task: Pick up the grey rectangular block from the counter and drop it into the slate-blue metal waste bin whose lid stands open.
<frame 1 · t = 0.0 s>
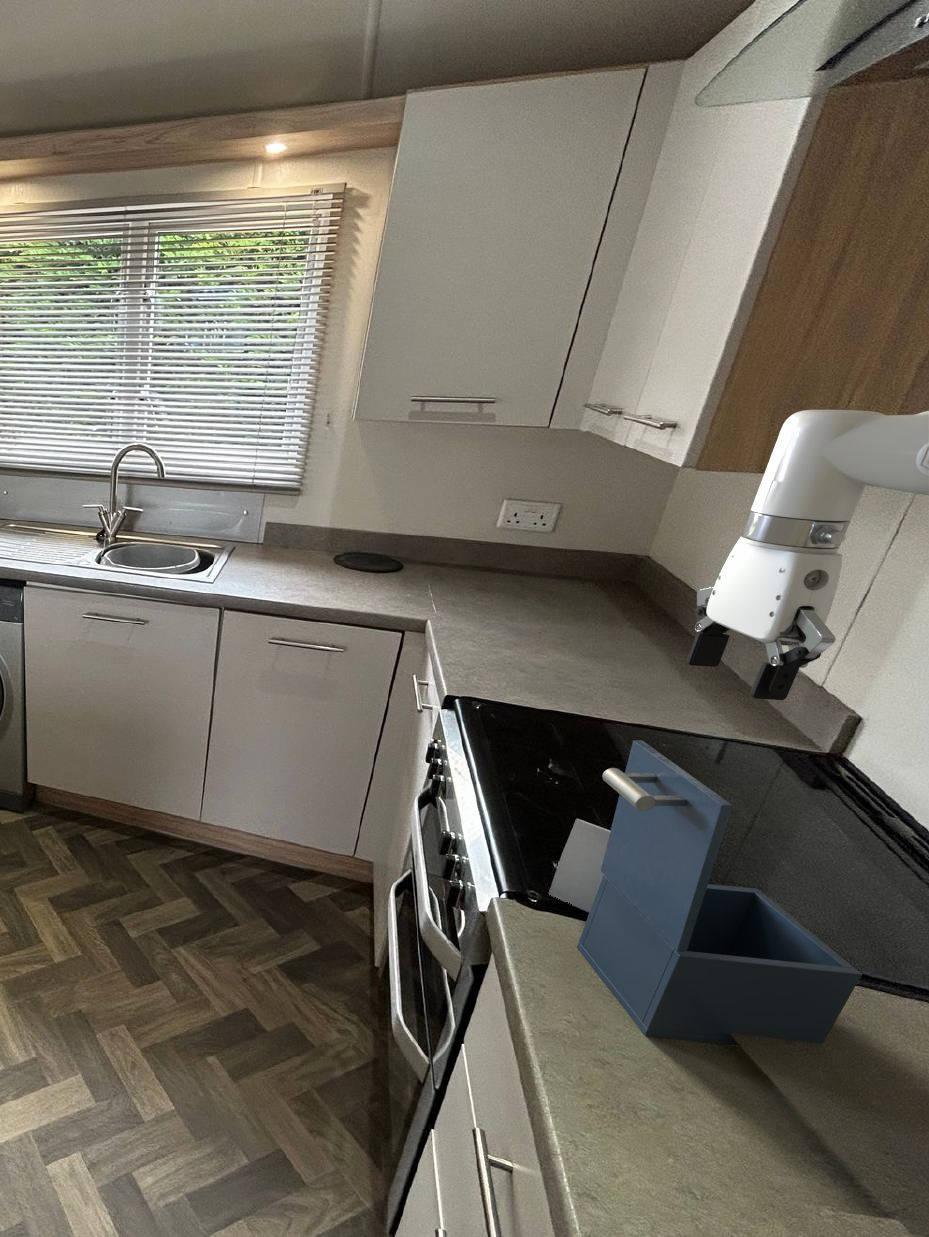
hand: (732, 680, 82), 26 cm above the countertop, tool pointing down, fingers open, 9 cm apart
bin lid: (634, 841, 68), point 18 cm above the countertop, hinge at 95.0°
waste bin: (686, 996, 73), on the countertop
grey rectangular block: (585, 903, 86), on the countertop
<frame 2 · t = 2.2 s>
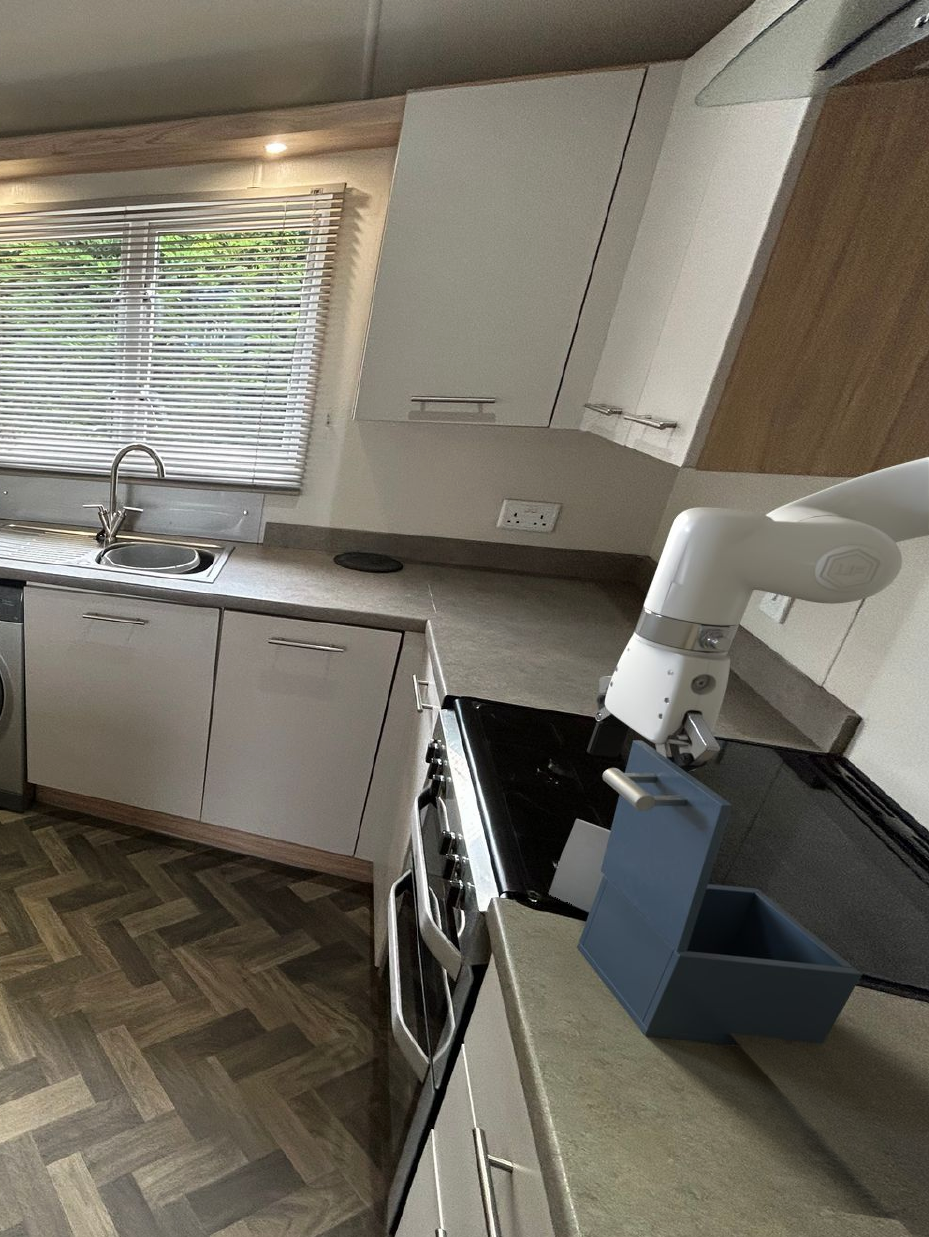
hand: (628, 776, 80), 17 cm above the countertop, tool pointing down, fingers open, 9 cm apart
nothing on the countertop moved.
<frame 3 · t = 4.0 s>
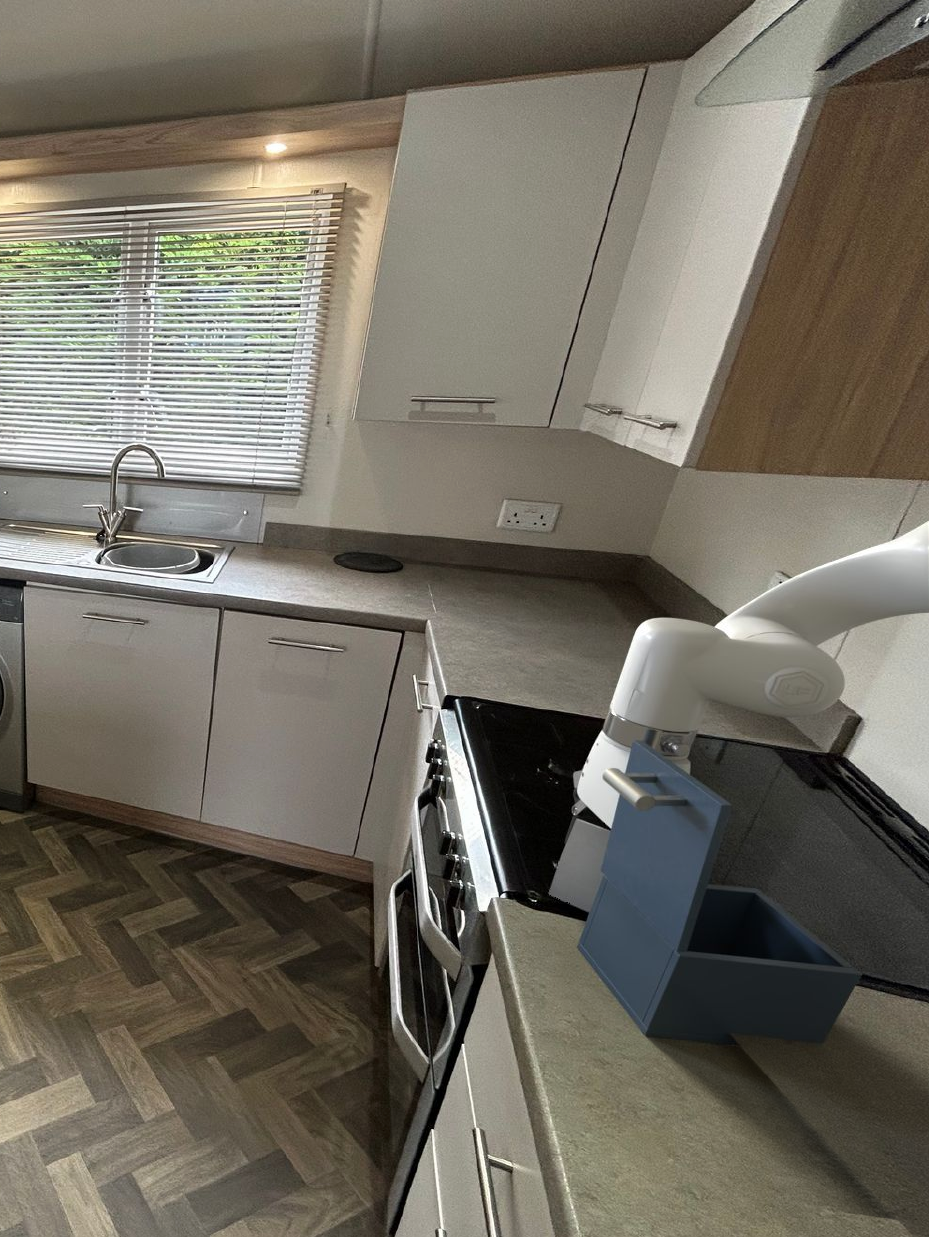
hand: (598, 865, 84), 5 cm above the countertop, tool pointing down, fingers closed on grey rectangular block, 7 cm apart
grey rectangular block: (585, 903, 86), on the countertop, touching gripper
everything else where it was.
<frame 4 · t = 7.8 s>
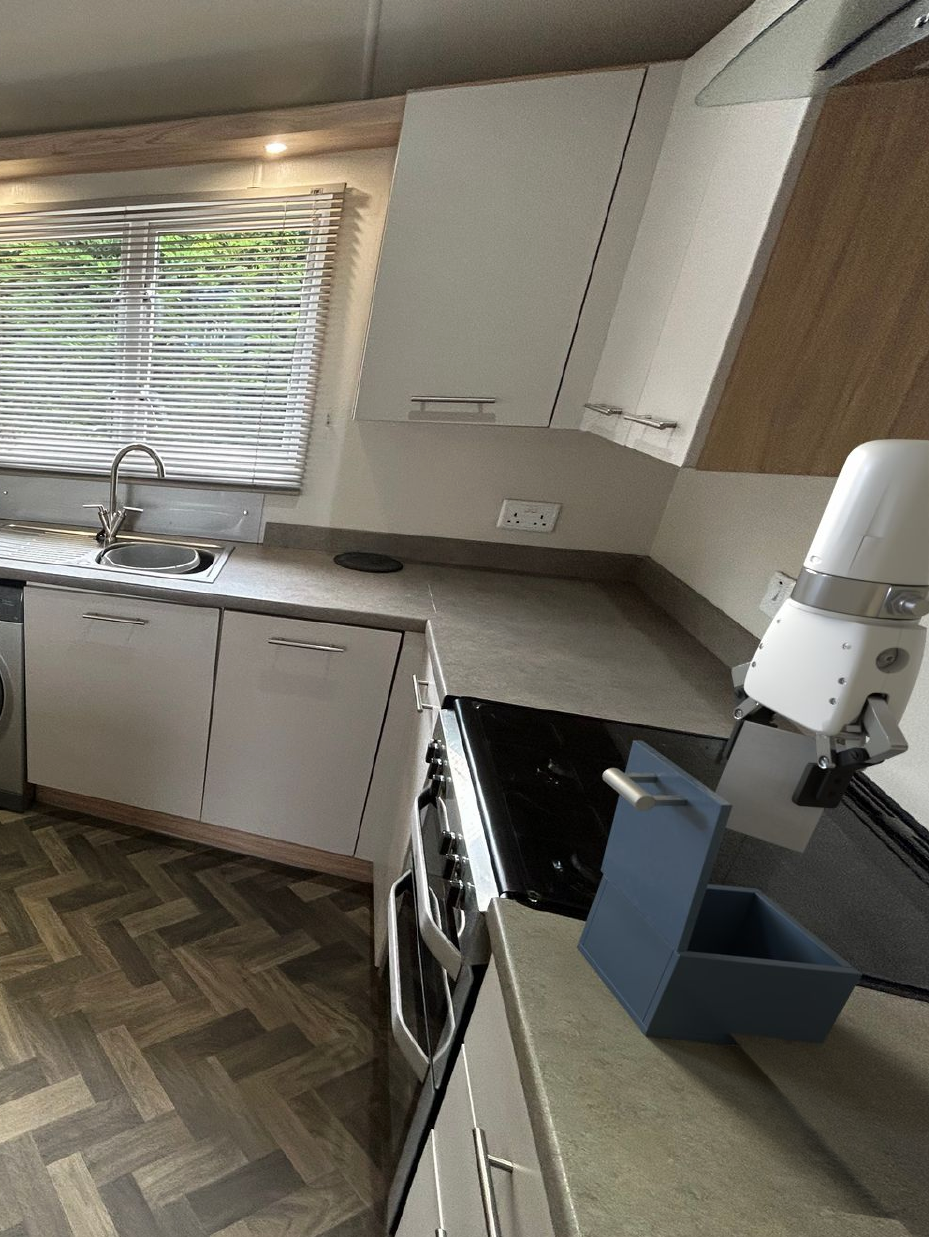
hand: (775, 780, 66), 24 cm above the countertop, tool pointing down, fingers closed on grey rectangular block, 7 cm apart
grey rectangular block: (753, 830, 68), point 19 cm above the countertop, touching gripper
everything else where it was.
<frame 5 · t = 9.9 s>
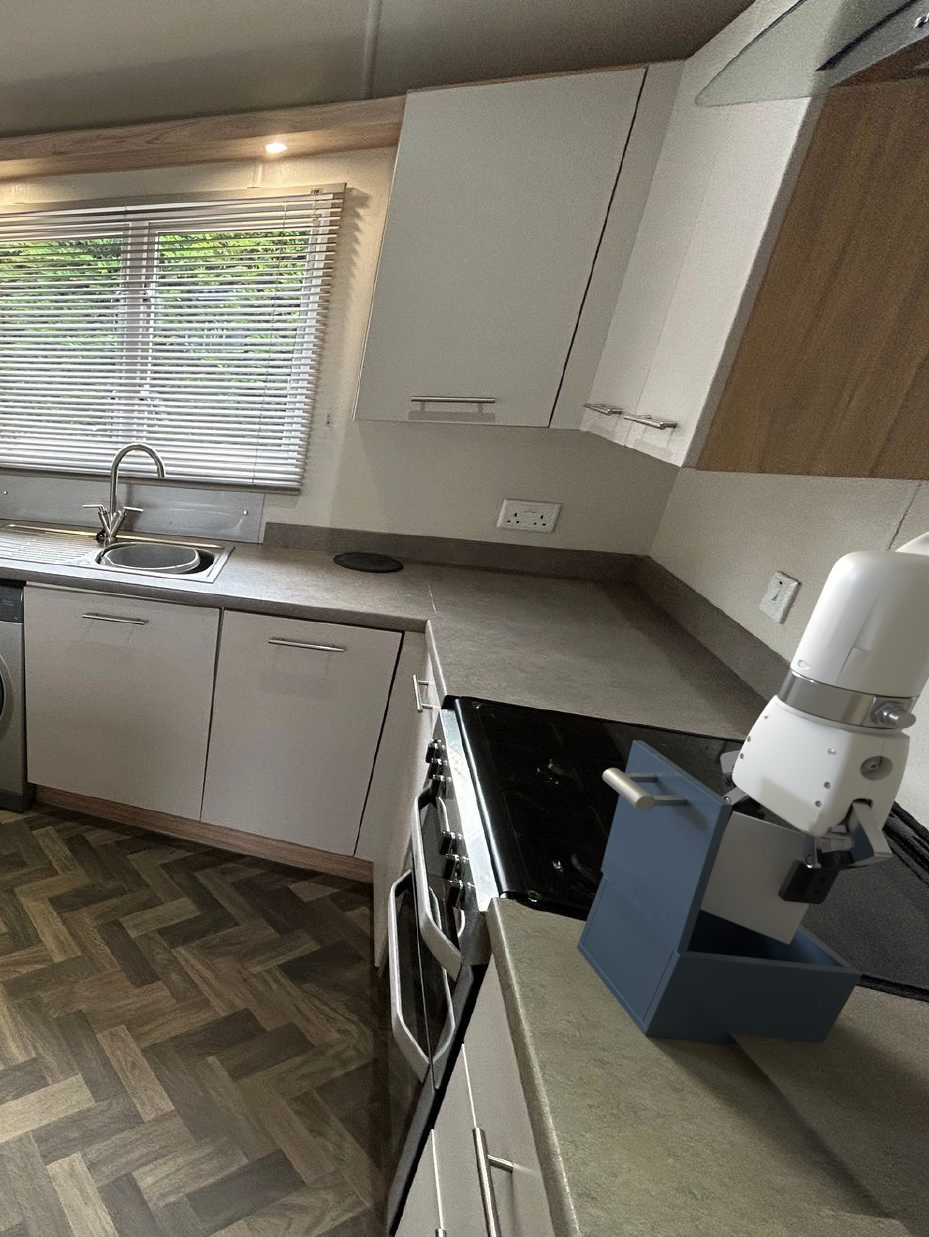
hand: (763, 870, 67), 16 cm above the countertop, tool pointing down, fingers closed on grey rectangular block, 7 cm apart
grey rectangular block: (741, 917, 69), point 10 cm above the countertop, touching gripper
everything else where it was.
when the fingers open (12 cm above the countertop, at t = 11.4 s): grey rectangular block drops 6 cm, resting on waste bin.
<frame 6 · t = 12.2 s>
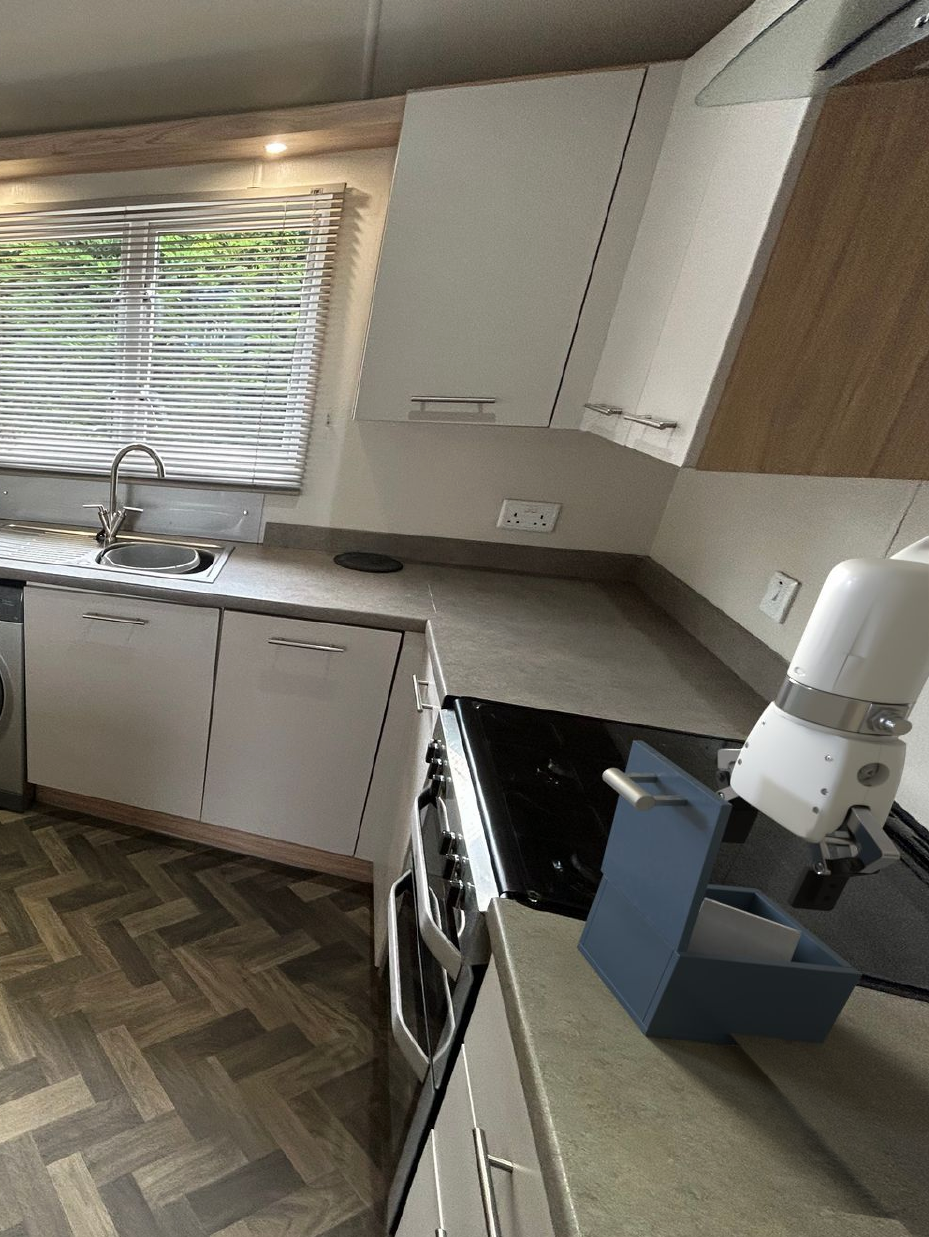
hand: (763, 871, 67), 16 cm above the countertop, tool pointing down, fingers open, 9 cm apart
grey rectangular block: (713, 995, 72), point 1 cm above the countertop, touching waste bin
everything else where it was.
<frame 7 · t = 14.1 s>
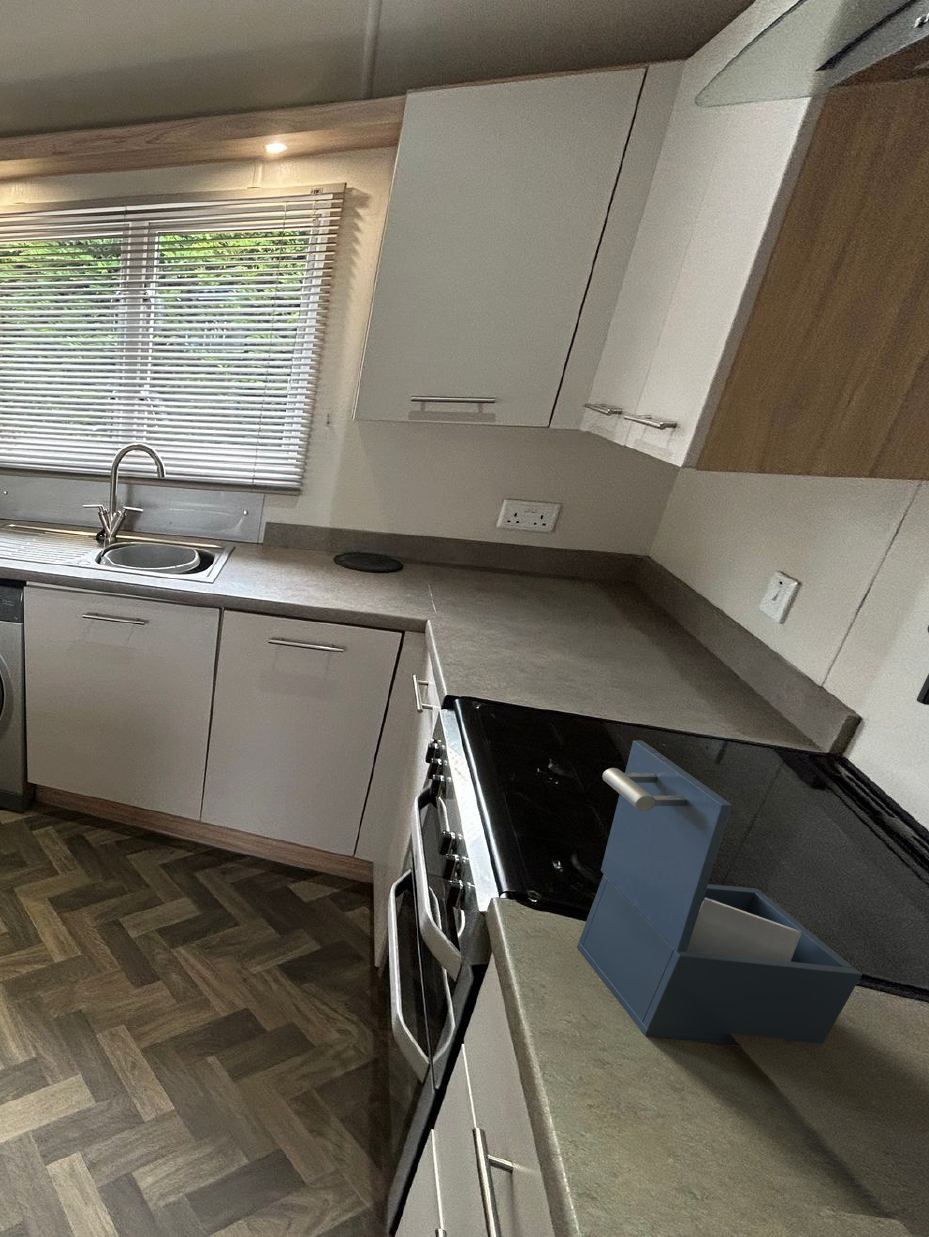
nothing on the countertop moved.
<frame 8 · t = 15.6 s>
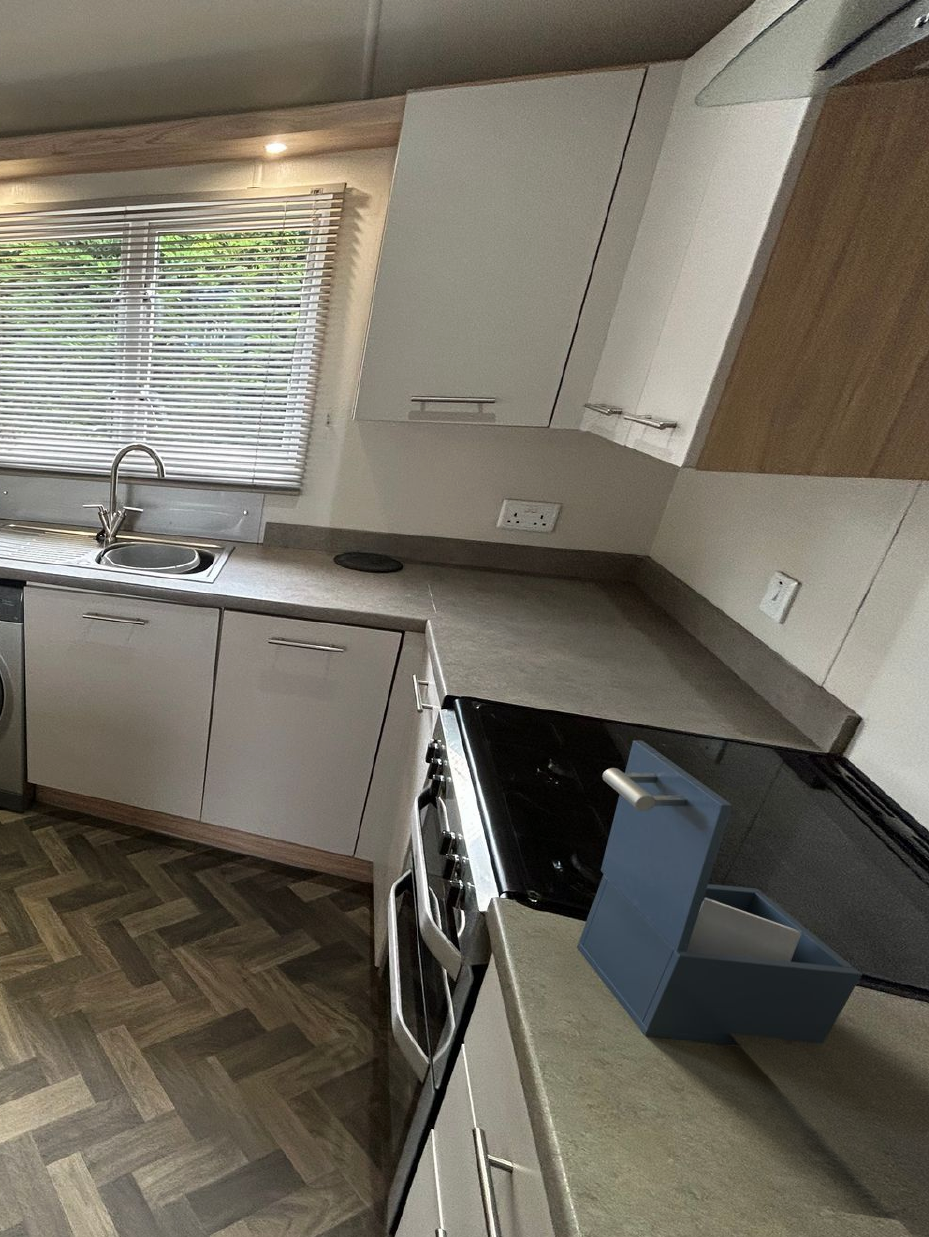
nothing on the countertop moved.
at the end: grey rectangular block inside the target area in the waste bin (2.2 cm from its centre), point 0.6 cm above the waste bin's base; the gripper is holding nothing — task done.
